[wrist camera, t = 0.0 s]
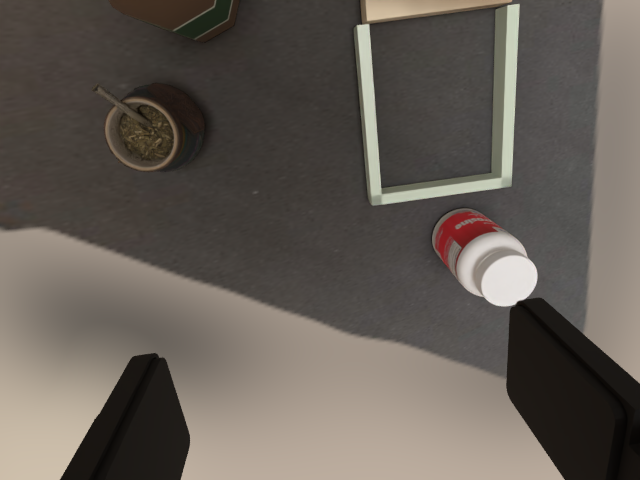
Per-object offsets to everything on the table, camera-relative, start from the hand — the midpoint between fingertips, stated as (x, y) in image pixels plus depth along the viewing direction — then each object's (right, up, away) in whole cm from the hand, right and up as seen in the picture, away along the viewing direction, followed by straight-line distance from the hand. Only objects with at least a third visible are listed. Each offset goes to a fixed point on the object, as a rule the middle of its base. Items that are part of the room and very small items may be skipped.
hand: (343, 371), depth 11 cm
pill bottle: (+14, +4, +33) cm, 36 cm away
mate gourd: (-15, +14, +27) cm, 34 cm away
